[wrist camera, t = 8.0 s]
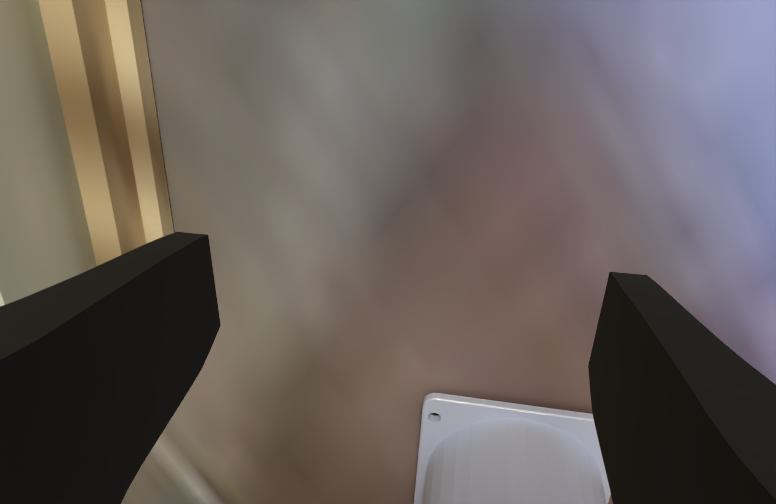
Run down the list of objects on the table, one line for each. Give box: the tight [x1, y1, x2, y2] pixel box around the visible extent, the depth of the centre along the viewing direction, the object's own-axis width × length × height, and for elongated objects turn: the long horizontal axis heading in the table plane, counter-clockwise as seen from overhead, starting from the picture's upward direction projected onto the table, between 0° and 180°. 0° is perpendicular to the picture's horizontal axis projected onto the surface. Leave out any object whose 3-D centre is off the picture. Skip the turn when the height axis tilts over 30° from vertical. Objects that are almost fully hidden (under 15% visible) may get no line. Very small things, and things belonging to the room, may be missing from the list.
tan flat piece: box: [38, 0, 174, 266], centre depth 20 cm, size 15×8×2 cm, turn 178°
